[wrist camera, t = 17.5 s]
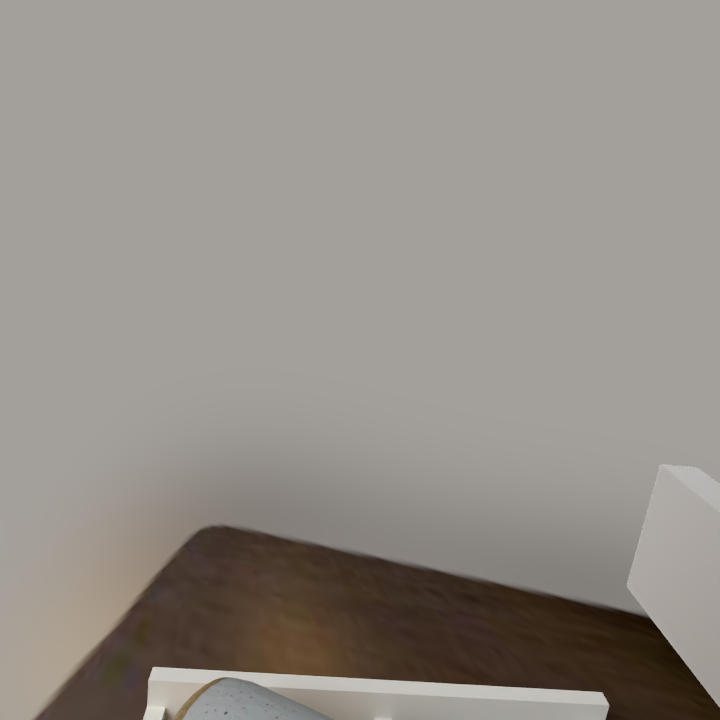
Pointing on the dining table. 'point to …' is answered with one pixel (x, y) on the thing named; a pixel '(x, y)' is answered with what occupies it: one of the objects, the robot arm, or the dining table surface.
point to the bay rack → (384, 697)
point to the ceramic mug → (242, 703)
